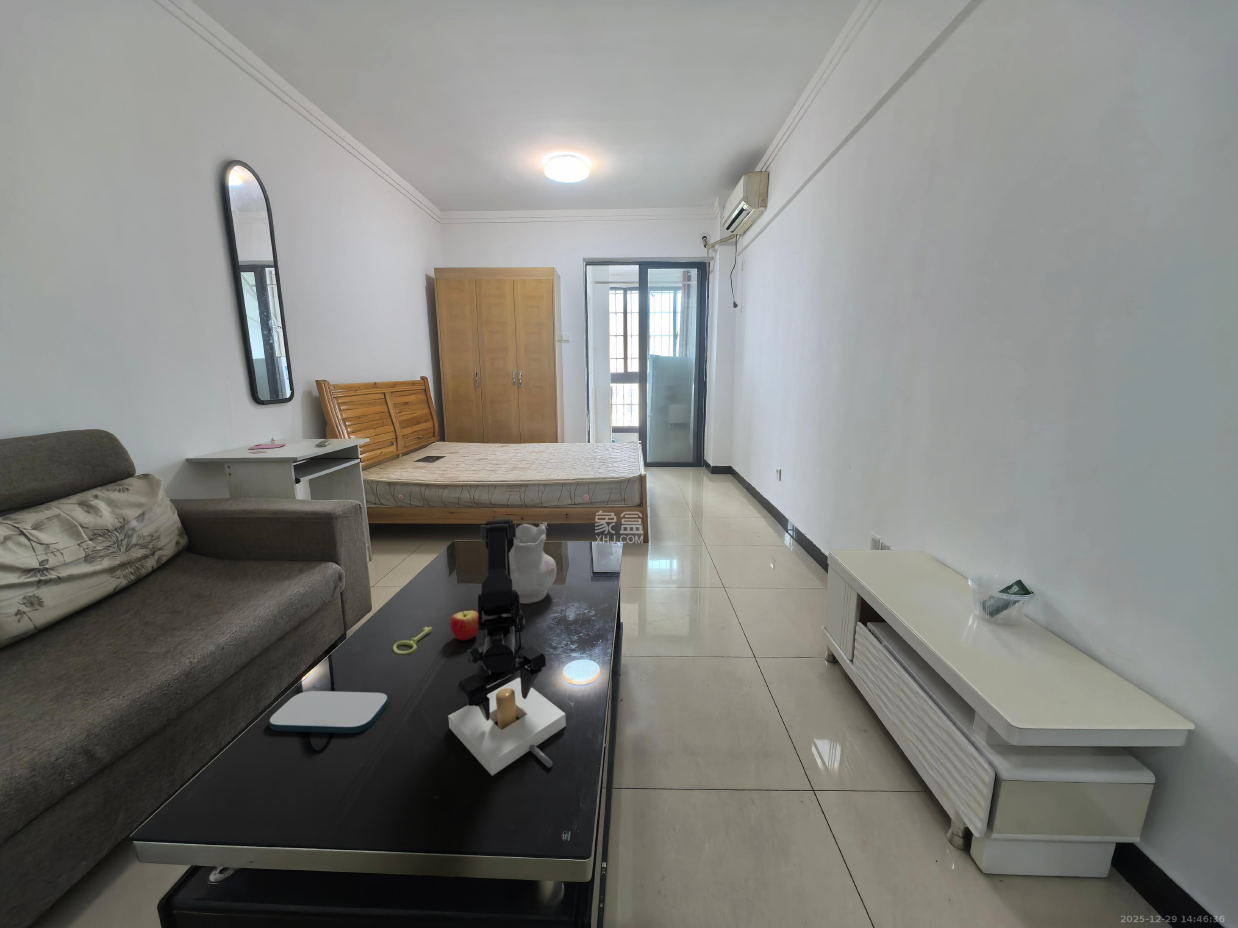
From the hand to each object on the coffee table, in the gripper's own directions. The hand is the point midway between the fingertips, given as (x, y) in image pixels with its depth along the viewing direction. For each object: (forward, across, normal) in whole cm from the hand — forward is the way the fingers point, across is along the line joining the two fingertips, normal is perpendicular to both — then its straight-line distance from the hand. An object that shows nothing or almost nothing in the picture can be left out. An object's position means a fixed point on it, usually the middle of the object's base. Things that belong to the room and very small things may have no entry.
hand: (506, 708), depth 102 cm
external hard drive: (+5, +26, -33) cm, 42 cm away
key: (+5, +1, -49) cm, 49 cm away
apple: (+5, -11, -40) cm, 42 cm away
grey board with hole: (+4, 0, +3) cm, 6 cm away
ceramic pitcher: (+5, -38, -48) cm, 61 cm away
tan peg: (+4, 0, 0) cm, 4 cm away
